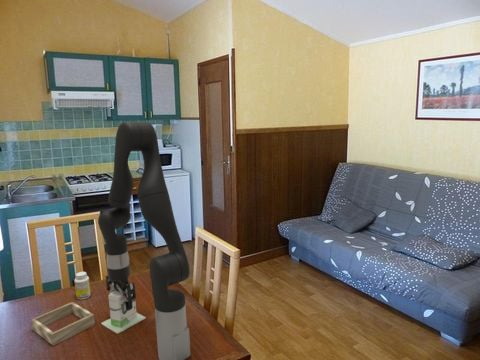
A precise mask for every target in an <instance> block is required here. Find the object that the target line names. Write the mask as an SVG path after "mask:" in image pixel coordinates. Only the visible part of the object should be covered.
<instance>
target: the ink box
mask: <svg viewBox="0 0 480 360" xmlns="http://www.w3.org/2000/svg"><path fill="white" fill-rule="evenodd" d="M124 292H127V290H126V291H124ZM107 296H108V306H109V315H110V316H109V317H110V318H111V325H113V326H117V327H123V326H124V325H125V324H127V323H128V322H129V321H130V320H132V319H133V318H134V317H136V316H137V314H136V313H137V302H136V299H134V300H132V306H133V307H132V309H131V310H129V311H127V310H126V304H125V299H124V297H123V296H122V295H121V293H120V292H119V291H116V290H115V291H113V292H111V293H110V292H109V294H108V295H107ZM126 296H127V297H128V294H126ZM132 296H133V294H132Z"/></svg>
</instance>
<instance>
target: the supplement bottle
mask: <svg viewBox="0 0 480 360" xmlns="http://www.w3.org/2000/svg"><path fill="white" fill-rule="evenodd" d="M73 282H74V288H75V295H76V296H75V297H76V299H78V300H85V299H88V298H89V297H91V295H92V293H91V283H90V282H91V281H90V277H89V276H88V274H87V272H86V271H79V272H77V273H76V274H75V278H74V281H73Z"/></svg>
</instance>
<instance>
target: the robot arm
mask: <svg viewBox="0 0 480 360" xmlns="http://www.w3.org/2000/svg"><path fill="white" fill-rule="evenodd" d="M114 142H115V145H114V157H113V158H114V159H113V161H114V162H113V173H112V174H113V175H112V181H111V185H110V189H109V192H108V193H109V194H108V199H107V201H108V204H109V205H110V206H111V207H112V208H111V209H108V210H104V211H102V212H101V213H100V214H99V215H98V218H97V223H98V228H99V230H100V232H101V234H102V237H103V239H104V242H105V251H106V252H105V253H106V267H107V268H106V269H107V275H105V284H106V291H107V292H109V294H110V293H111V292H113V291H115V290H116V291H119V292H120V293H121V295H122V296H123V297H124V299H125V304H126V310H127V311H129V310H131V309H132V307H133V306H132V300H134V299H135V300H136V298H137V294H136V285H135V282H129V279H128V278H129V277H130V275H131V266H130V256H129V251H128V241H127V236H126V235H125V234H124V233H123V234H122V233H116V230H117V229H121V228H123V227H125V226H126V225H128V223H129V222H130V219H131V199H132V195H133V191H134V185H135V184H134V183H135V182H134V178H133V175H132V172H131V170H130V166H129V157H130V154H131V152H141V154H142V159H143V173H142V175H141V179H140V181H139V184H138V188H137V199H138V204H139V207H140V208H139V209H140V212H141V215H142V216H143V218H144V219H145V221H146V222H147V223H148V224H149V225H151V226H152V228H153V229H154V230H155V231H156V232H157V233H159V235H160V236H161V237H162V238H163V240H164V242H165V244H166V247H167V249H168V251H169V252H168V253H166V254H165V253H164V254H162V255H157V256H154V257H153V258H152V259H150V262H149V276H150V282H151V290H152V291H151V292H152V298H153V303H154V315H155V317H154V318H155V330H156V341H157V343H156V345H157V353H158V360H186V359H188V358H189V357H190V356H191V341H190V340H191V339H190V328H189V327H188V325H187V308H186V295H185V293H184V292H182V291H181V290H179V289H175V288H172V289H171V288H169V287H170V286H173V285H176V284H178V283H181V282H184V281H186V280H188V279H189V277H190V274H191V272H190V271H191V270H190V264H189V263H190V262H189V260H188V257H187V253H186V251H185V248H184V245H183V242H182V240H181V235H180V233H179V230H178V226H177V224H176V220H175V216H174V210H173V206H172V201H171V198H170V195H169V191H168V186H167V183H166V180H165V176H164V172H163V167H162V161H161V155H160V149H159V143H158V136H157V133H156V129H155V127H154V125H152V124H151V123H150V122H148V121H129V120H128V121H122V122H121V123H120V124H119V126H118V127H117V130H116V135H115V141H114ZM126 290H127V292H124V291H126ZM126 294H128V297H127V296H126ZM132 294H133V296H132Z"/></svg>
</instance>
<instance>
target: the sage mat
mask: <svg viewBox="0 0 480 360" xmlns="http://www.w3.org/2000/svg"><path fill="white" fill-rule="evenodd" d="M136 314H137V316H136V317H134V318H133V319H132V320H130V321H129V322H128V323H127V324H125V325H124V326H123V327H117V326H113V325H111V317H110V318H108V319H106V320H104V321H103V322H101V324H100V325H102V327H105V328H107V329H109V330H110V331H112V332H113V333H115V334H117V335H118V334H121V333H122V332H123V331H125V330H127V329H129V328H131V327H132V326H135V325H136V324H138V323H140V322H141V321H143V320H145V319H146V316H144V315H142V314H140V313H139V312H136Z"/></svg>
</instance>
